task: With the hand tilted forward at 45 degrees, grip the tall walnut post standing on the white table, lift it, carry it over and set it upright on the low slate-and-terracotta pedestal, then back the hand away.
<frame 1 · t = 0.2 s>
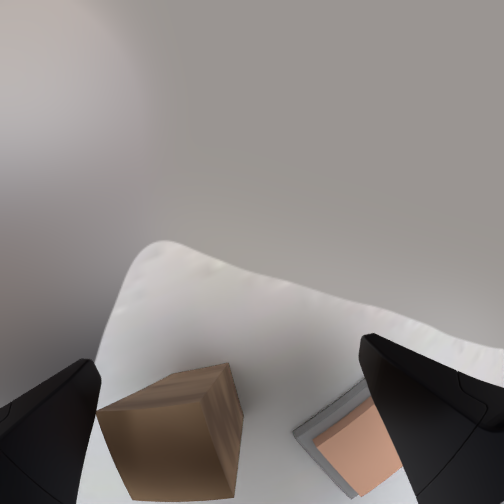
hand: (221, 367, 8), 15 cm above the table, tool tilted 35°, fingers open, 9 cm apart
pedestal: (365, 433, 20), on the table
walnut post: (207, 395, 21), on the table
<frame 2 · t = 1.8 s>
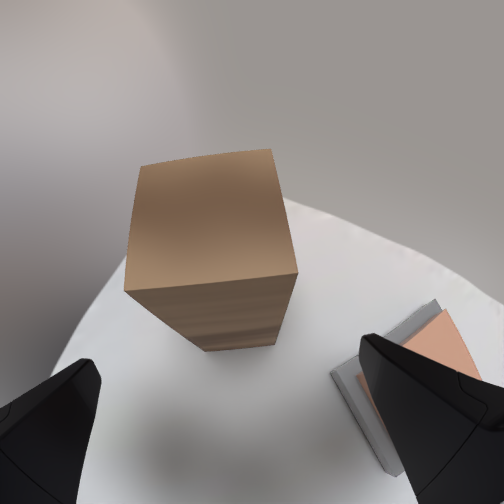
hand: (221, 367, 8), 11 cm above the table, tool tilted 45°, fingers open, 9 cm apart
pedestal: (411, 388, 17), on the table
walnut post: (236, 315, 20), on the table
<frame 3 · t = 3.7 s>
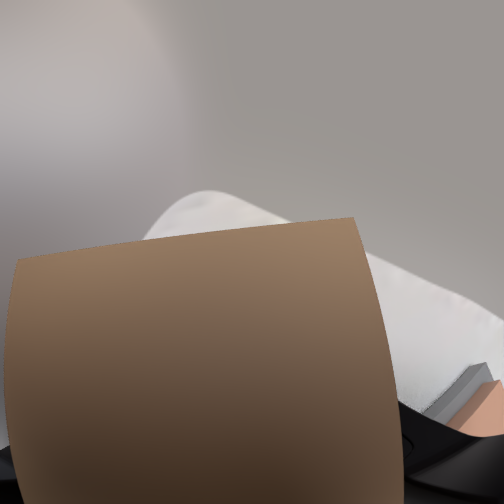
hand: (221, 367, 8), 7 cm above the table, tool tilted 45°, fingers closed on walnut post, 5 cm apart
pedestal: (446, 462, 10), on the table
walnut post: (240, 399, 14), on the table, touching gripper
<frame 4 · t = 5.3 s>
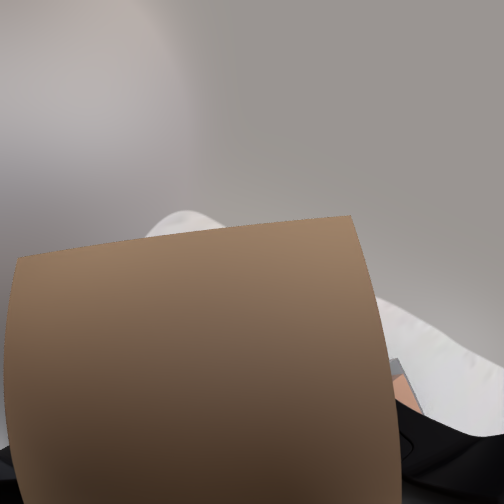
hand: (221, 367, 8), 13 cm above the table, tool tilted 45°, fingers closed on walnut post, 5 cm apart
pedestal: (362, 439, 17), on the table
walnut post: (240, 398, 14), point 6 cm above the table, touching gripper
when the fingers open (12 cm above the table, at t = 6.7 s): walnut post drops 1 cm, resting on pedestal.
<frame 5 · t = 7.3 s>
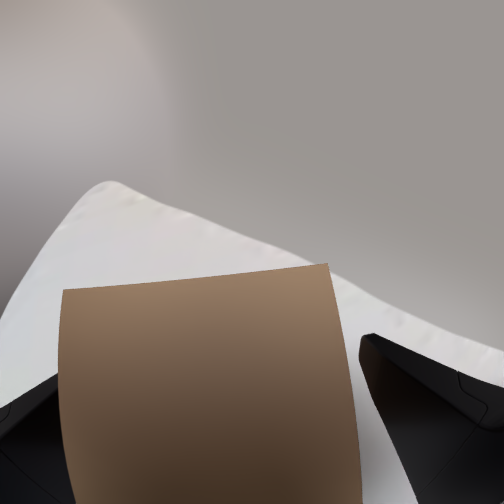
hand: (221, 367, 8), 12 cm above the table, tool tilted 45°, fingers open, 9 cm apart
walnut post: (242, 396, 15), point 3 cm above the table, touching pedestal
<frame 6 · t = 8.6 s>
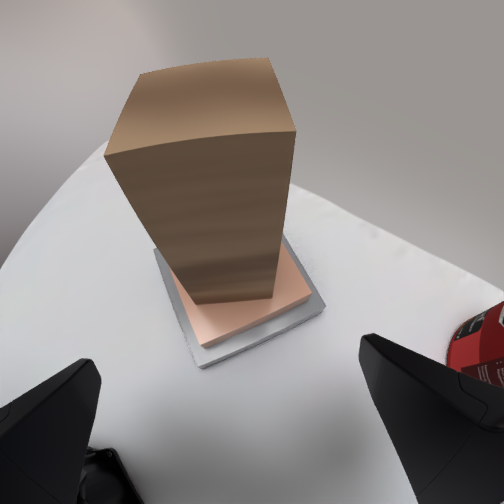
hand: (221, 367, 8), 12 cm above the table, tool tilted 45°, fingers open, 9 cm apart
canned food: (470, 360, 18), on the table
pedestal: (235, 285, 22), on the table
walnut post: (231, 266, 19), point 3 cm above the table, touching pedestal
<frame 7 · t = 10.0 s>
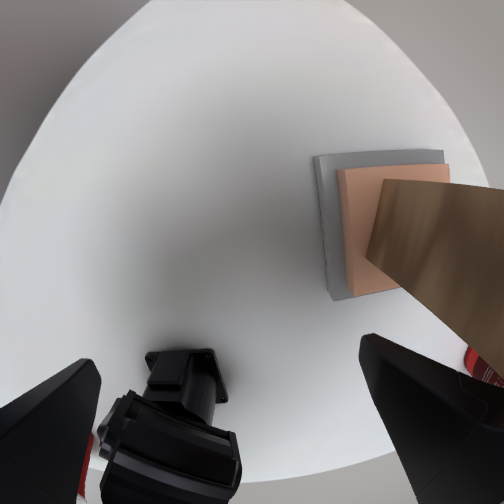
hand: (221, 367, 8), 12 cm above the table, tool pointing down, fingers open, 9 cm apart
canned food: (484, 342, 23), on the table
pedestal: (384, 218, 19), on the table
plastic cup: (78, 428, 28), on the table
walnut post: (407, 227, 16), point 4 cm above the table, touching pedestal
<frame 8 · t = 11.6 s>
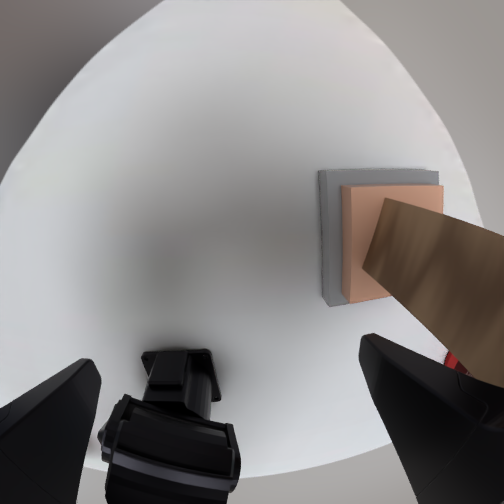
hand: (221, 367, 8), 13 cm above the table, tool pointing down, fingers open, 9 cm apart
pedestal: (379, 231, 21), on the table
walnut post: (401, 242, 17), point 3 cm above the table, touching pedestal
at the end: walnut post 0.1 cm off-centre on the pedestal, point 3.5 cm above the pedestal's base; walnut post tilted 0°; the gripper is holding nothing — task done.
